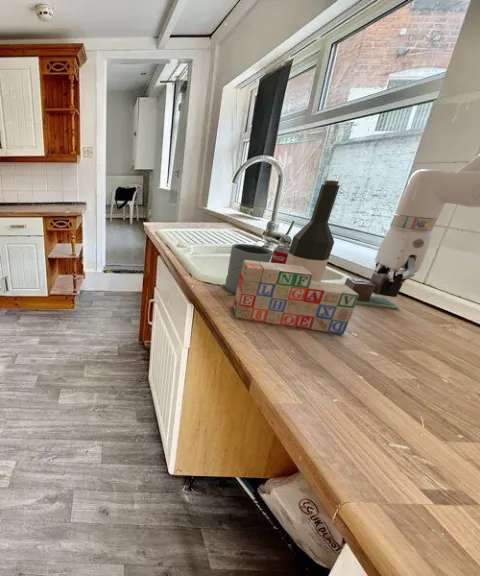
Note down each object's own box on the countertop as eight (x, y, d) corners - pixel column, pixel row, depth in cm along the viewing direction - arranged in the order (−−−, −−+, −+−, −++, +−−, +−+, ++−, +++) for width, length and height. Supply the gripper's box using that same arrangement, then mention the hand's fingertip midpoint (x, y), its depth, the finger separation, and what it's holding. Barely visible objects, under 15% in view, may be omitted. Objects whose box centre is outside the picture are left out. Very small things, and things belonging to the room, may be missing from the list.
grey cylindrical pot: (229, 280, 93) (238, 242, 88) (265, 289, 87) (276, 249, 83) (217, 289, 86) (226, 247, 81) (256, 300, 80) (268, 255, 75)
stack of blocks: (332, 322, 70) (351, 271, 65) (343, 335, 64) (366, 281, 60) (232, 306, 75) (243, 258, 71) (234, 317, 70) (247, 266, 65)
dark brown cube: (360, 295, 85) (366, 279, 84) (368, 301, 81) (375, 284, 79) (341, 292, 86) (347, 276, 85) (348, 298, 82) (355, 282, 81)
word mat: (382, 298, 85) (383, 296, 85) (398, 309, 79) (399, 307, 79) (337, 292, 88) (338, 291, 88) (349, 302, 82) (349, 300, 81)
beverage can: (269, 282, 93) (279, 244, 89) (289, 288, 89) (302, 248, 85) (260, 286, 90) (271, 246, 85) (281, 292, 86) (293, 251, 81)
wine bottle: (311, 300, 81) (352, 181, 70) (312, 311, 75) (358, 182, 63) (276, 293, 85) (309, 179, 74) (274, 302, 79) (310, 179, 67)
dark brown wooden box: (386, 290, 83) (393, 274, 82) (396, 297, 79) (404, 280, 77) (366, 288, 84) (373, 271, 83) (375, 294, 80) (383, 277, 78)
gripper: (458, 231, 66) (420, 307, 73) (407, 220, 82) (379, 283, 89) (417, 228, 68) (383, 302, 75) (375, 217, 83) (350, 279, 90)
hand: (381, 291), depth 82 cm, fingers closed on dark brown wooden box, 4 cm apart
